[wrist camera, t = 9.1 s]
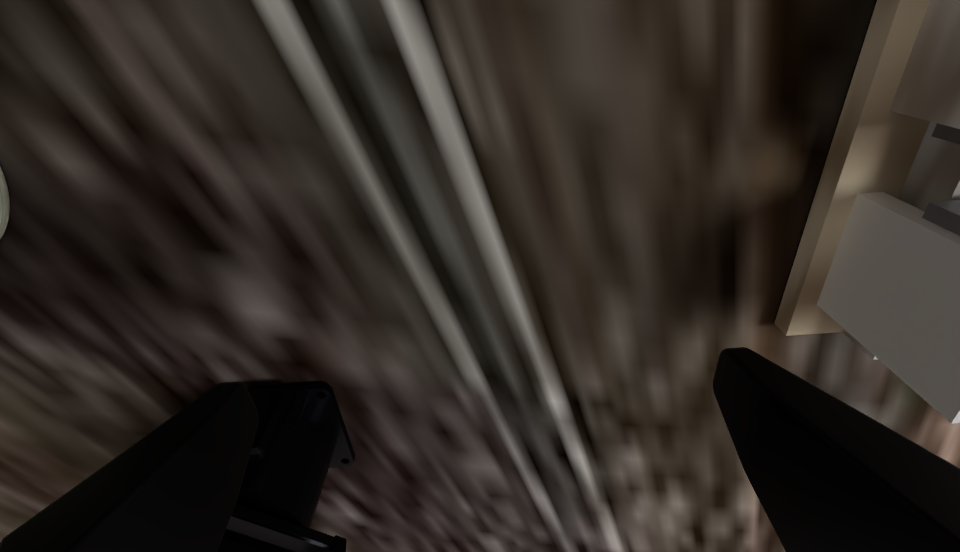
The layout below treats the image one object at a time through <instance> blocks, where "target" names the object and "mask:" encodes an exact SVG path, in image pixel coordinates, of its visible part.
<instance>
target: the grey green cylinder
mask: <svg viewBox="0 0 960 552" xmlns="http://www.w3.org/2000/svg"><path fill="white" fill-rule="evenodd" d="M9 215H10V199H9V192H8V187H7V183H6V179H5V175H4V173H3V171H2V169H1V167H0V239H1V238H2V236H3V234H4V232H5V230H6V227H7V224H8V220H9Z"/></svg>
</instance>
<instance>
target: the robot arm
mask: <svg viewBox="0 0 960 552" xmlns="http://www.w3.org/2000/svg"><path fill="white" fill-rule="evenodd" d="M713 390H714V394H715V397H716V399H717V402H718V405H719V407H720V410H721V412H722V415H723V417H724V420H725V423H726V425H727V428H728V430H729V433H730V436H731V438H732V441H733V443H734V446H735V448H736V451H737V454H738V456H739V459H740V461H741V463H742V466H743V468H744V471H745V473H746V475H747V477H748V479H749V481H750V483H751V485H752V487H753V489H754V491H755V493H756V495H757V496H758V498H759V500H760V502H761V504H762V506H763V508H764V510H765V512H766V514H767V516H768V518H769V520H770V522H771V524H772V526H773V527H774V529H775V531H776V533H777V535H778V537H779V539H780V541H781V543H782V545H783V547H784V549H785V551H786V552H960V468H958V467H957V466H955V465H953V464H951V463H950V462H948V461H946V460H944V459H943V458H941V457H939V456H937V455H935V454H934V453H932V452H930V451H928V450H927V449H925V448H923V447H921V446H920V445H918V444H916V443H914V442H913V441H911V440H909V439H907V438H906V437H904V436H902V435H900V434H898V433H897V432H895V431H893V430H891V429H890V428H888V427H886V426H884V425H883V424H881V423H879V422H877V421H876V420H874V419H872V418H870V417H869V416H867V415H865V414H863V413H861V412H860V411H858V410H856V409H854V408H853V407H851V406H849V405H847V404H846V403H844V402H842V401H840V400H839V399H837V398H835V397H833V396H832V395H830V394H828V393H826V392H824V391H823V390H821V389H819V388H817V387H816V386H814V385H812V384H810V383H809V382H807V381H805V380H803V379H802V378H800V377H798V376H796V375H795V374H793V373H791V372H789V371H787V370H786V369H784V368H782V367H780V366H779V365H777V364H775V363H773V362H772V361H770V360H768V359H766V358H765V357H763V356H761V355H759V354H758V353H756V352H754V351H752V350H750V349H748V348H744V347H741V348H727V349H724V350H722V352H721V353H720V356H719V359H718V363H717V367H716V371H715V375H714V379H713ZM321 392H323V393H321ZM354 459H355V454H354V451H353V448H352V445H351V442H350V439H349V436H348V433H347V430H346V427H345V425H344V422H343V419H342V416H341V413H340V410H339V407H338V404H337V401H336V398H335V395H334V392H333V389H332V388H331V386H329V385H328V384H325V383H316V384H302V385H287V386H272V387H258V388H247V387H246V386H245V385H244V384H243V383H242V382H226V383H220V384H218V385H216V386H215V387H213V388H212V389H210V390H209V391H208V392H206V393H205V394H203V395H202V396H201V397H199V398H198V399H196V400H195V401H194V402H192V403H191V404H190V405H188V406H187V407H185V408H184V409H183V410H181V411H180V412H178V413H177V414H176V415H174V416H173V417H171V418H170V419H169V420H167V421H166V422H164V423H163V424H162V425H160V426H159V427H158V428H156V429H155V430H153V431H152V432H151V433H149V434H148V435H146V436H145V437H144V438H142V439H141V440H139V441H138V442H137V443H135V444H134V445H132V446H131V447H130V448H128V449H127V450H126V451H124V452H123V453H121V454H120V455H119V456H117V457H116V458H114V459H113V460H112V461H110V462H109V463H107V464H106V465H105V466H103V467H102V468H100V469H99V470H98V471H96V472H95V473H94V474H92V475H91V476H89V477H88V478H87V479H85V480H84V481H82V482H81V483H80V484H78V485H77V486H75V487H74V488H73V489H71V490H70V491H68V492H67V493H66V494H64V495H63V496H61V497H60V498H59V499H57V500H56V501H55V502H53V503H52V504H50V505H49V506H48V507H46V508H45V509H43V510H42V511H41V512H39V513H38V514H36V515H35V516H34V517H32V518H31V519H29V520H28V521H27V522H25V523H24V524H23V525H21V526H20V527H18V528H17V529H16V530H14V531H13V532H11V533H10V534H9V535H7V536H6V537H5V538H3V540H2V542H1V543H0V552H346V539H345V538H342V537H339V536H337V535H336V536H335V537H333V536H330V535H327V534H325V533H322V532H319V531H316V530H313V529H310V526H311V523H312V520H313V517H314V514H315V510H316V507H317V504H318V501H319V497H320V494H321V491H322V488H323V484H324V481H325V478H326V475H327V472H328V468H330V467H345V466H351V465H352V464H353V462H354Z"/></svg>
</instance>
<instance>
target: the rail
mask: <svg viewBox="0 0 960 552" xmlns="http://www.w3.org/2000/svg"><path fill="white" fill-rule="evenodd" d="M873 192H884V193H886V194H889V195H891V196H893V197H895V198H897V199H899V200H901V201H904V202H906V203H908V204H910V205H912V206H914V207H917V208H919V209H921V210H923V211H925V210H926V208H927V206H928V204H929V202H937V201H950V200H960V0H877V2H876V5H875V8H874V12H873V15H872V18H871V21H870V24H869V27H868V30H867V34H866V37H865V40H864V43H863V46H862V49H861V52H860V56H859V59H858V62H857V65H856V68H855V71H854V74H853V78H852V81H851V84H850V87H849V90H848V93H847V96H846V100H845V103H844V106H843V109H842V112H841V115H840V118H839V122H838V125H837V128H836V131H835V134H834V137H833V140H832V144H831V147H830V150H829V153H828V156H827V159H826V162H825V166H824V169H823V172H822V175H821V178H820V181H819V184H818V188H817V191H816V194H815V197H814V200H813V203H812V206H811V210H810V213H809V216H808V219H807V222H806V225H805V228H804V232H803V235H802V238H801V241H800V244H799V247H798V250H797V254H796V257H795V260H794V263H793V266H792V269H791V272H790V276H789V279H788V282H787V285H786V288H785V291H784V294H783V298H782V301H781V304H780V307H779V310H778V313H777V316H776V320H775V323H774V324H775V325H776V326H777V327H778V328H779V329H780V330H781V331H782V332H783V333H784V334H785V335H786V336H790V335H804V334H818V333H833V332H843V333H844V334H845V335H846V336H847V337H849V338H850V339H851V340H852V341H853V342H854V343H855V344H856V345H857V346H859V347H860V348H861V349H862V350H863V351H864V352H865V353H866V354H868V355H869V356H870V357H871V358H872V359H878V358H876V357H875V356H874V355H873V354H872V353H871V352H870V351H868V350H867V349H866V348H865V347H864V346H863V345H862V344H861V343H859V342H858V341H857V340H856V339H855V338H854V337H853V336H851V335H850V334H849V333H848V332H847V331H846V330H845V329H844V328H842V327H841V326H840V325H839V324H838V323H837V322H836V321H834V320H833V319H832V318H831V317H830V316H829V315H828V314H826V313H825V312H824V311H823V310H822V309H821V308H820V307H819V306H817V302H818V300H819V297H820V294H821V292H822V289H823V286H824V283H825V281H826V278H827V275H828V272H829V270H830V267H831V264H832V262H833V259H834V256H835V253H836V251H837V248H838V245H839V243H840V240H841V237H842V234H843V232H844V229H845V226H846V223H847V221H848V218H849V215H850V213H851V210H852V207H853V204H854V202H855V199H856V196H857V194H860V193H873Z"/></svg>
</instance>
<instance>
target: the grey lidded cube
mask: <svg viewBox="0 0 960 552" xmlns="http://www.w3.org/2000/svg"><path fill="white" fill-rule="evenodd" d="M817 306H819V307H820V308H821V309H822V310H823V311H824V312H825V313H826V314H828V315H829V316H830V317H831V318H832V319H833V320H834V321H836V322H837V323H838V324H839V325H840V326H841V327H842V328H844V329H845V330H846V331H847V332H848V333H849V334H850V335H851V336H853V337H854V338H855V339H856V340H857V341H858V342H859V343H861V344H862V345H863V346H864V347H865V348H866V349H867V350H868V351H870V352H871V353H872V354H873V355H874V356H875V357H876V358H878V359H879V360H880V361H881V362H882V363H883V364H884V365H885V366H887V367H888V368H889V369H890V370H891V371H892V372H893V373H895V374H896V375H897V376H898V377H899V378H900V379H901V380H903V381H904V382H905V383H906V384H907V385H908V386H909V387H910V388H912V389H913V390H914V391H915V392H916V393H917V394H918V395H920V396H921V397H922V398H923V399H924V400H925V401H926V402H927V403H929V404H930V405H931V406H932V407H933V408H934V409H935V410H937V411H938V412H939V413H940V414H941V415H942V416H943V417H944V418H946V419H947V420H948V421H949V422H950V423H960V200H950V201H937V202H929V204H928V206H927V208H926V210H925V211H923V210H921V209H919V208H917V207H914V206H912V205H910V204H908V203H906V202H904V201H901V200H899V199H897V198H895V197H893V196H891V195H889V194H886V193H884V192H873V193H860V194H857V196H856V199H855V202H854V204H853V207H852V210H851V213H850V215H849V218H848V221H847V223H846V226H845V229H844V232H843V234H842V237H841V240H840V243H839V245H838V248H837V251H836V253H835V256H834V259H833V262H832V264H831V267H830V270H829V272H828V275H827V278H826V281H825V283H824V286H823V289H822V292H821V294H820V297H819V300H818V302H817Z"/></svg>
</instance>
